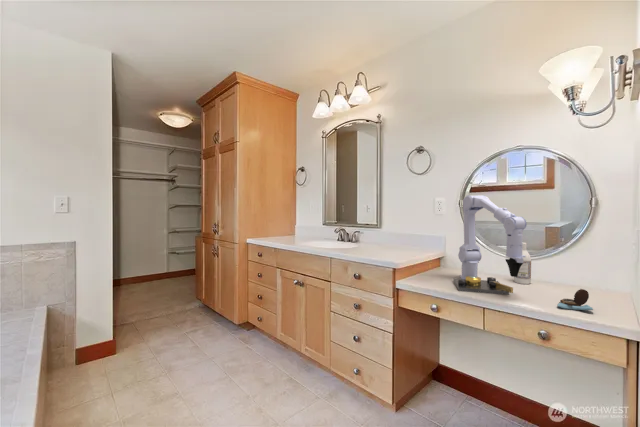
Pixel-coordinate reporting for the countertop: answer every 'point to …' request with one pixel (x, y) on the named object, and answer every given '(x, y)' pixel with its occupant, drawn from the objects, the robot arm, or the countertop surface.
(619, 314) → the countertop surface
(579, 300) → the compass
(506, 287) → the wooden stick
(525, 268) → the bath foam
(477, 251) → the robot arm
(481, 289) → the plate
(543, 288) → the countertop surface
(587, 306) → the bow tie
